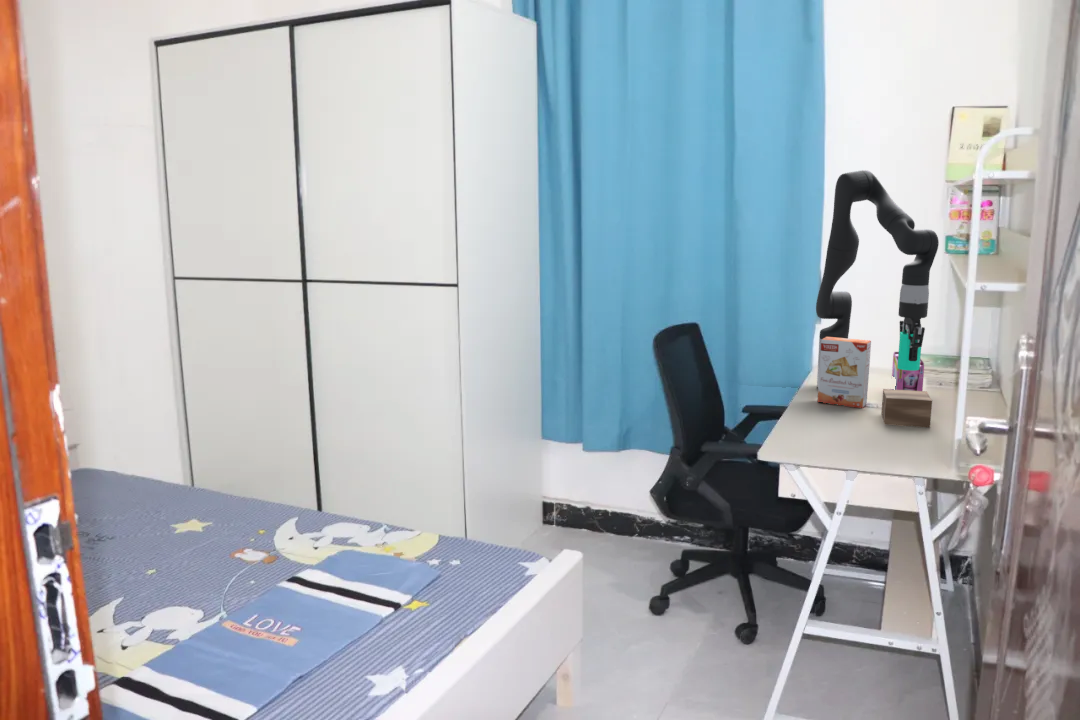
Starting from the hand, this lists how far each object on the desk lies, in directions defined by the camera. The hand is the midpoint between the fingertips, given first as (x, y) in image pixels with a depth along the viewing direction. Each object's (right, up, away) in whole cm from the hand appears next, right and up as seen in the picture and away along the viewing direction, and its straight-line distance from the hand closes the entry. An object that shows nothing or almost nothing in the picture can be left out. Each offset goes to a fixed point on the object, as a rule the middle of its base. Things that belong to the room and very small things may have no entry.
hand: (909, 358), depth 239 cm
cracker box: (-11, -15, +23) cm, 30 cm away
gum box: (+12, -13, +29) cm, 34 cm away
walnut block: (0, -18, +3) cm, 19 cm away
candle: (0, -3, +1) cm, 3 cm away
